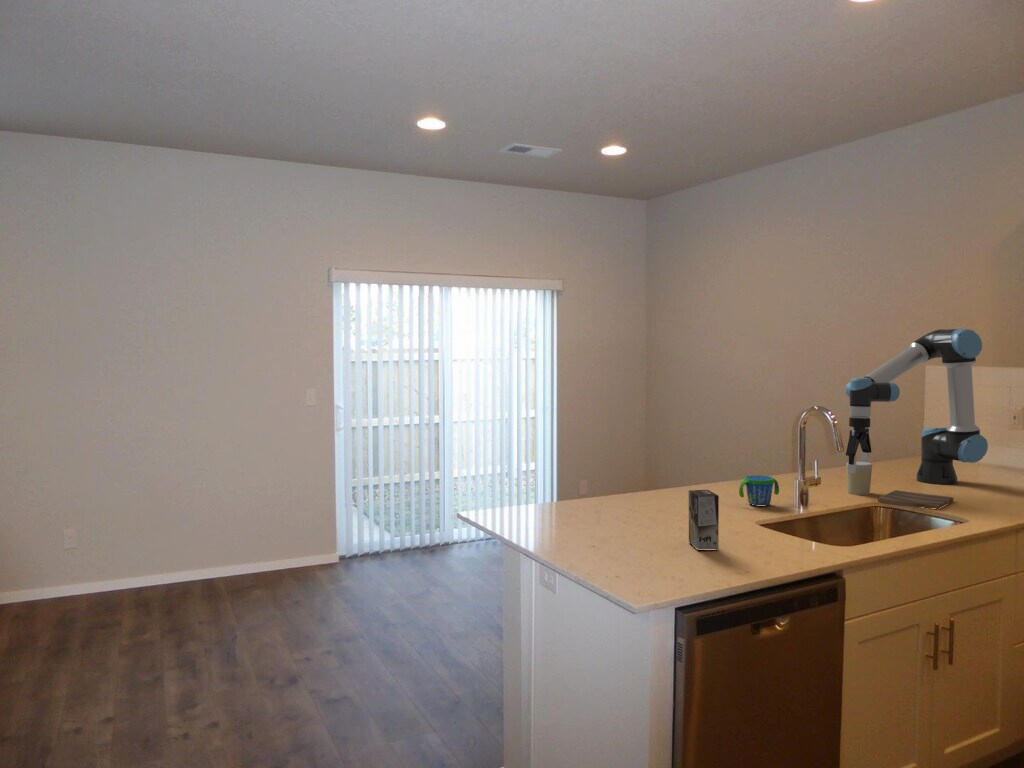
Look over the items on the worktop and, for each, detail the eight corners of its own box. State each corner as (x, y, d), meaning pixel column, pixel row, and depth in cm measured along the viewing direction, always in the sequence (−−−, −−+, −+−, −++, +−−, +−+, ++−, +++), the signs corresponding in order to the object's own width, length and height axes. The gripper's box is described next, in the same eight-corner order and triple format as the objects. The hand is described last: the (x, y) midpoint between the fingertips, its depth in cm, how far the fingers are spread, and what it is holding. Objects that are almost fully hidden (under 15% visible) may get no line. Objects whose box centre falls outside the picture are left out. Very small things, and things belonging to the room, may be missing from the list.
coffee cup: (866, 491, 292) (866, 461, 291) (875, 495, 283) (876, 465, 282) (842, 490, 293) (842, 461, 292) (850, 495, 283) (851, 464, 283)
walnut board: (895, 493, 286) (895, 490, 286) (953, 501, 272) (953, 497, 271) (877, 502, 271) (877, 498, 271) (937, 510, 257) (938, 505, 257)
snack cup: (746, 509, 262) (746, 480, 261) (732, 502, 272) (732, 475, 272) (786, 507, 264) (786, 479, 264) (771, 501, 275) (771, 474, 274)
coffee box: (719, 551, 209) (719, 495, 208) (697, 551, 208) (697, 496, 208) (708, 542, 218) (708, 489, 217) (687, 543, 217) (687, 489, 217)
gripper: (861, 414, 298) (859, 466, 299) (837, 418, 280) (836, 473, 281) (880, 415, 292) (879, 468, 293) (858, 419, 275) (856, 475, 276)
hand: (858, 470), depth 287 cm, fingers open, 13 cm apart
